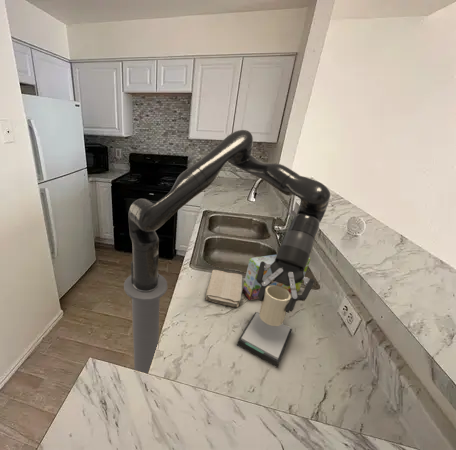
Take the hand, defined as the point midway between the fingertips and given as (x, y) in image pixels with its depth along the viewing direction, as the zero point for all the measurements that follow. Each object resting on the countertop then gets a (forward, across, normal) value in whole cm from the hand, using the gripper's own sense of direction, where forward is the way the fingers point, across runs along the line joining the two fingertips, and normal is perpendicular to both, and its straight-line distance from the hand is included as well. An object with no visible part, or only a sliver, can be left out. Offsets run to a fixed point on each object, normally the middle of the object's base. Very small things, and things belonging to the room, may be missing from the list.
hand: (273, 305), depth 68 cm
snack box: (-7, +5, -28) cm, 29 cm away
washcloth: (0, +19, -20) cm, 28 cm away
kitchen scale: (+9, 0, -11) cm, 14 cm away
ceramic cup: (+3, 0, -5) cm, 6 cm away
